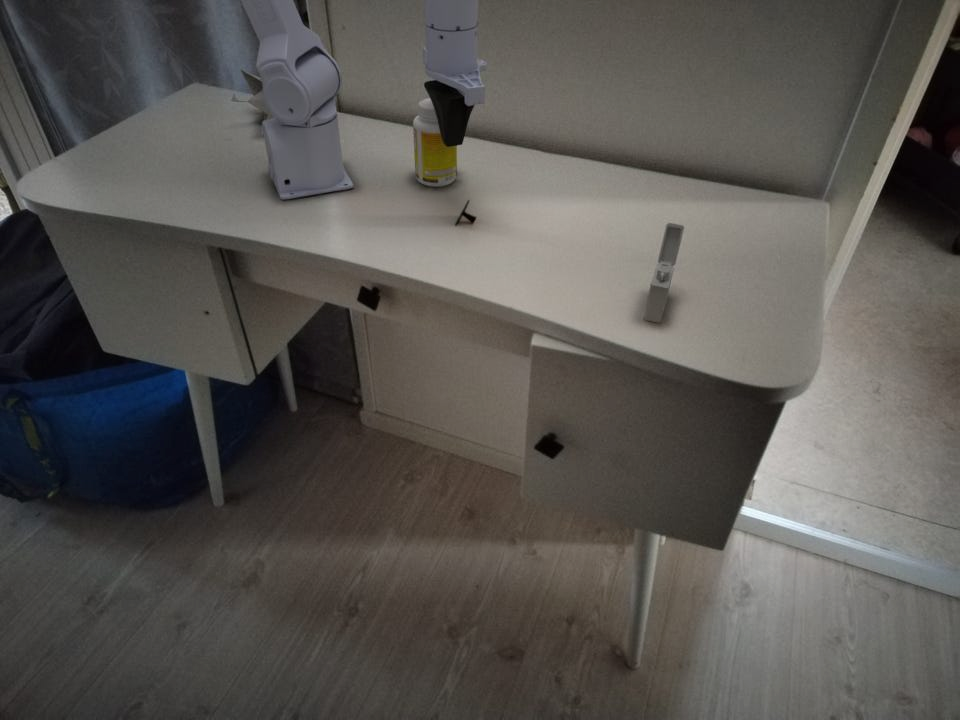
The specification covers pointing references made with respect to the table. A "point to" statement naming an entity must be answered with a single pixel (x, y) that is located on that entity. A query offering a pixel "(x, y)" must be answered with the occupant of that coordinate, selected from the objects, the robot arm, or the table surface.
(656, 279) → the lighter
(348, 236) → the table surface
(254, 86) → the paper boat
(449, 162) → the supplement bottle
